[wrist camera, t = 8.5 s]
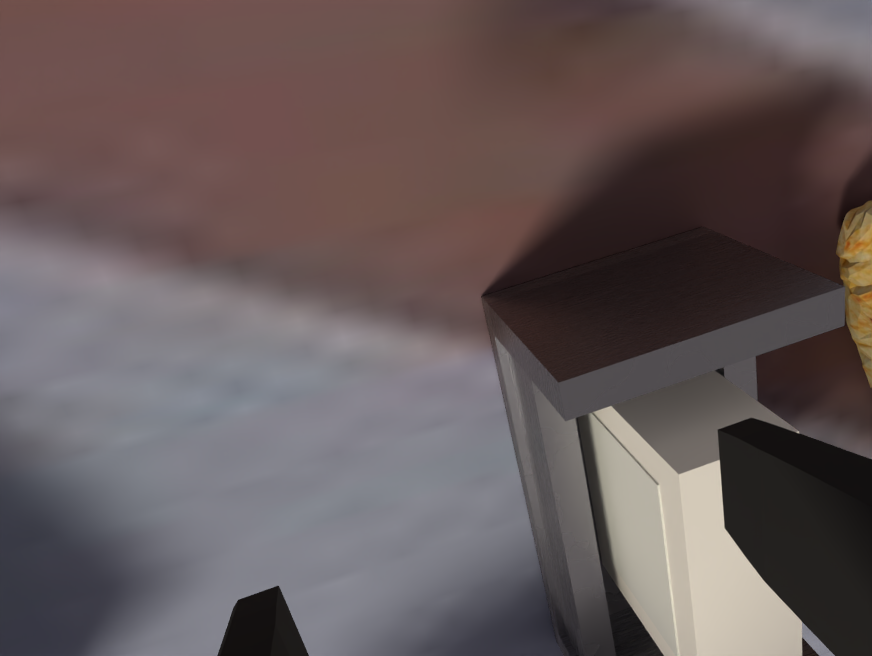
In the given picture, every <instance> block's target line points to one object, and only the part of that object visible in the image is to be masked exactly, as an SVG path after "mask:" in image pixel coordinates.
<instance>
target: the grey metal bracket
mask: <svg viewBox="0 0 872 656" xmlns="http://www.w3.org/2000/svg"><path fill="white" fill-rule="evenodd" d="M481 298H482V303H483V307H484V312H485V316H486V321H487V326H488V330H489V335H490V339H491V344H492V348H493V353H494V358H495V362H496V367H497V371H498V376H499V380H500V385H501V390H502V394H503V399H504V403H505V408H506V412H507V417H508V422H509V426H510V431H511V435H512V440H513V444H514V449H515V454H516V458H517V463H518V467H519V472H520V476H521V481H522V486H523V490H524V495H525V499H526V504H527V508H528V513H529V518H530V522H531V527H532V531H533V536H534V541H535V545H536V550H537V554H538V559H539V563H540V568H541V573H542V577H543V582H544V586H545V591H546V595H547V600H548V605H549V609H550V614H551V618H552V623H553V627H554V632H555V637H556V641H557V643H558V645H559V647H560V649H561V651H562V653H563V655H564V656H664V655H663V653H662V652H661V650H660V649H659V647H658V646H657V645H656V643H655V642H654V640H653V639H652V637H651V636H650V634H649V633H648V631H647V630H646V628H645V627H644V625H643V624H642V622H641V621H640V619H639V618H638V616H637V615H636V613H635V612H634V610H633V609H632V607H631V606H630V604H629V603H628V601H627V600H626V598H625V597H624V596H623V594H622V593H621V591H620V590H619V588H618V587H617V585H616V584H615V582H614V581H613V579H612V578H611V576H610V575H609V573H608V572H607V570H606V569H605V567H604V566H603V564H602V559H601V553H600V547H599V541H598V535H597V529H596V523H595V517H594V511H593V506H592V500H591V494H590V488H589V482H588V476H587V470H586V464H585V458H584V452H583V447H582V441H581V435H580V429H579V423H578V417H580V416H583V415H586V414H589V413H592V412H595V411H598V410H601V409H603V408H606V407H609V406H612V405H615V404H618V403H621V402H624V401H627V400H630V399H633V398H636V397H638V396H641V395H644V394H647V393H650V392H653V391H656V390H659V389H662V388H665V387H668V386H670V385H673V384H676V383H679V382H682V381H685V380H688V379H691V378H694V377H697V376H700V375H702V374H705V373H708V372H711V371H714V370H715V371H716V372H717V373H719V374H720V375H722V376H723V377H724V378H726V379H727V380H729V381H730V382H731V383H733V384H734V385H736V386H737V387H738V388H740V389H741V390H743V391H744V392H745V393H747V394H748V395H750V396H751V397H752V398H754V399H755V400H757V401H758V399H757V376H756V356H758V355H761V354H764V353H766V352H769V351H772V350H775V349H778V348H781V347H784V346H787V345H790V344H793V343H796V342H799V341H801V340H804V339H807V338H810V337H813V336H816V335H819V334H822V333H825V332H828V331H831V330H833V329H836V328H839V327H842V326H845V286H843V285H840V284H838V283H835V282H833V281H831V280H828V279H826V278H824V277H821V276H819V275H816V274H814V273H812V272H809V271H807V270H805V269H802V268H800V267H798V266H795V265H793V264H790V263H788V262H786V261H783V260H781V259H779V258H776V257H774V256H771V255H769V254H767V253H764V252H762V251H760V250H757V249H755V248H752V247H750V246H748V245H745V244H743V243H741V242H738V241H736V240H734V239H731V238H729V237H726V236H724V235H722V234H719V233H717V232H715V231H712V230H710V229H707V228H705V227H701V228H698V229H694V230H691V231H688V232H685V233H682V234H678V235H675V236H672V237H669V238H666V239H663V240H659V241H656V242H653V243H650V244H647V245H643V246H640V247H637V248H634V249H631V250H628V251H624V252H621V253H618V254H615V255H612V256H608V257H605V258H602V259H599V260H596V261H593V262H589V263H586V264H583V265H580V266H577V267H573V268H570V269H567V270H564V271H561V272H558V273H554V274H551V275H548V276H545V277H542V278H538V279H535V280H532V281H529V282H526V283H523V284H519V285H516V286H513V287H510V288H507V289H503V290H500V291H497V292H494V293H491V294H488V295H484V296H481ZM802 656H819V655H818V654H817V653H816V652H815V651H814V650H813V649H812V648H811V646H810V645H809V644H808V643H807V642H806V641H805V640H804V639H803V638H802Z"/></svg>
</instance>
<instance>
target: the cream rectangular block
mask: <svg viewBox="0 0 872 656" xmlns="http://www.w3.org/2000/svg"><path fill="white" fill-rule="evenodd" d="M749 418H755V419H758V420H761V421H765V422H768V423H771V424H774V425H777V426H779V427H782V428H785V429H788V430H791V431H794V432H796V433H799V431H798V430H797V429H796V428H794V427H793V426H791V425H790V424H789V423H787V422H786V421H784V420H783V419H782V418H780V417H779V416H777V415H776V414H775V413H773V412H772V411H770V410H769V409H768V408H766V407H765V406H763V405H762V404H761V403H759V402H758V401H757V400H755V399H754V398H752V397H751V396H750V395H748V394H747V393H745V392H744V391H743V390H741V389H740V388H738V387H737V386H736V385H734V384H733V383H731V382H730V381H729V380H727V379H726V378H724V377H723V376H722V375H720V374H719V373H717V372H716V371H715V370H714V371H711V372H708V373H705V374H702V375H700V376H697V377H694V378H691V379H688V380H685V381H682V382H679V383H676V384H673V385H670V386H668V387H665V388H662V389H659V390H656V391H653V392H650V393H647V394H644V395H641V396H638V397H636V398H633V399H630V400H627V401H624V402H621V403H618V404H615V405H612V406H609V407H606V408H603V409H601V410H598V411H595V412H592V413H589V414H586V415H583V416H580V417H578V423H579V429H580V435H581V441H582V447H583V452H584V458H585V464H586V470H587V476H588V482H589V488H590V494H591V500H592V506H593V511H594V517H595V523H596V529H597V535H598V541H599V547H600V553H601V559H602V564H603V566H604V567H605V569H606V570H607V572H608V573H609V575H610V576H611V578H612V579H613V581H614V582H615V584H616V585H617V587H618V588H619V590H620V591H621V593H622V594H623V596H624V597H625V598H626V600H627V601H628V603H629V604H630V606H631V607H632V609H633V610H634V612H635V613H636V615H637V616H638V618H639V619H640V621H641V622H642V624H643V625H644V627H645V628H646V630H647V631H648V633H649V634H650V636H651V637H652V639H653V640H654V642H655V643H656V645H657V646H658V647H659V649H660V650H661V652H662V653H663V655H664V656H802V621H801V620H800V619H799V618H798V617H797V616H796V614H795V613H794V612H793V611H792V610H791V609H790V608H789V607H788V606H787V605H786V604H785V603H784V602H783V601H782V600H781V599H780V598H779V597H778V596H777V594H776V593H775V592H774V591H773V590H772V589H771V588H770V587H769V586H768V585H767V584H766V583H765V582H764V580H763V579H762V578H761V576H760V575H759V574H758V573H757V571H756V570H755V569H754V567H753V566H752V565H751V563H750V562H749V561H748V560H747V558H746V557H745V556H744V554H743V553H742V551H741V550H740V549H739V547H738V546H737V545H736V543H735V542H734V540H733V539H732V538H731V536H730V535H729V533H728V532H727V531H726V529H725V527H724V513H723V499H722V485H721V471H720V457H719V443H718V429H721V428H723V427H726V426H729V425H732V424H735V423H738V422H740V421H743V420H746V419H749Z"/></svg>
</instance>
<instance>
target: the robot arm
mask: <svg viewBox="0 0 872 656" xmlns="http://www.w3.org/2000/svg"><path fill="white" fill-rule="evenodd" d="M718 443H719V457H720V471H721V485H722V499H723V513H724V527H725V529H726V531H727V532H728V533H729V535H730V536H731V538H732V539H733V540H734V542H735V543H736V545H737V546H738V547H739V549H740V550H741V551H742V553H743V554H744V556H745V557H746V558H747V560H748V561H749V562H750V563H751V565H752V566H753V567H754V569H755V570H756V571H757V573H758V574H759V575H760V576H761V578H762V579H763V580H764V582H765V583H766V584H767V585H768V586H769V587H770V588H771V589H772V590H773V591H774V592H775V593H776V594H777V596H778V597H779V598H780V599H781V600H782V601H783V602H784V603H785V604H786V605H787V606H788V607H789V608H790V609H791V610H792V611H793V612H794V613H795V614H796V616H797V617H798V618H799V619H800V620H801V621H802V622H803V623H804V624H805V625H806V626H807V627H808V628H809V629H810V630H811V631H812V632H813V633H814V634H815V635H816V636H817V637H818V638H819V639H820V641H821V642H822V643H823V644H824V645H825V646H826V647H827V648H828V649H829V650H830V651H831V652H832V653H833V654H834V655H835V656H872V459H869V458H866V457H863V456H860V455H857V454H855V453H852V452H849V451H846V450H843V449H841V448H838V447H835V446H832V445H830V444H827V443H824V442H821V441H819V440H816V439H813V438H810V437H808V436H805V435H802V434H799V433H796V432H794V431H791V430H788V429H785V428H782V427H779V426H777V425H774V424H771V423H768V422H765V421H761V420H758V419H755V418H749V419H746V420H743V421H740V422H738V423H735V424H732V425H729V426H726V427H723V428H721V429H718ZM217 656H309V655H308V653H307V650H306V648H305V646H304V643H303V641H302V639H301V636H300V634H299V632H298V629H297V627H296V625H295V622H294V620H293V618H292V615H291V613H290V611H289V609H288V606H287V604H286V602H285V599H284V597H283V595H282V592H281V590H280V588H279V586H276V587H273V588H271V589H268V590H265V591H262V592H259V593H257V594H254V595H251V596H248V597H245V598H242V599H240V600H238V601H237V603H236V605H235V606H234V608H233V611H232V614H231V617H230V620H229V623H228V626H227V629H226V632H225V635H224V638H223V641H222V644H221V647H220V650H219V653H218V655H217Z"/></svg>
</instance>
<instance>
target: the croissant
mask: <svg viewBox="0 0 872 656" xmlns="http://www.w3.org/2000/svg"><path fill="white" fill-rule="evenodd" d="M836 254H837V255H838V256H839V257H840V261H839V270H840V277H841V279H842V280H843V284H844V286H845V311H846V323H847V325H848V327H849V330H850V332H851V337H852V339H853V340H854V342H855V343H856V345H857V348H858V352H859V355H860V358H861V361H862V367H863V369H864V370H865V373H866V376H867V379H868V382H869V385H870V387H871V388H872V201H867V202H866V203H865V204H864V205H863V206H860V207H857V208H854V209H852V210H850V211H849V212H848V213H847V214H846V216H845V219H844V221H843V224H842V228H841V232H840V235H839V238H838V244H837V249H836Z"/></svg>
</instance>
